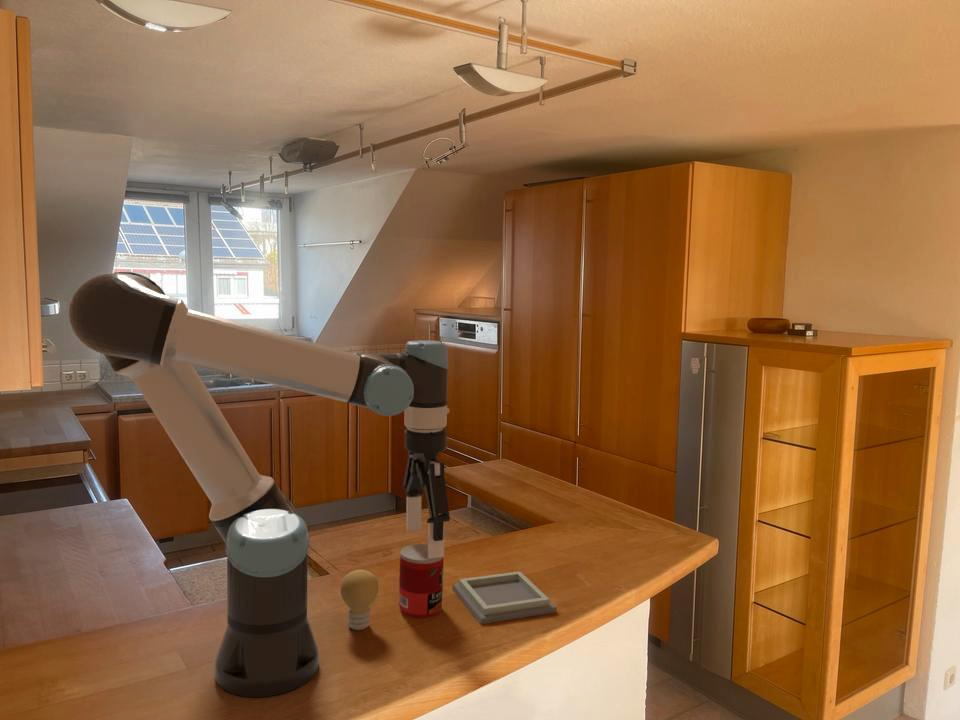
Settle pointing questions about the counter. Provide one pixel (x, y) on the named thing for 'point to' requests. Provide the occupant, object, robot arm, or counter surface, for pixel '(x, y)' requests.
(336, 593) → the counter surface
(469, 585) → the coaster
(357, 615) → the light bulb
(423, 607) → the canned food
